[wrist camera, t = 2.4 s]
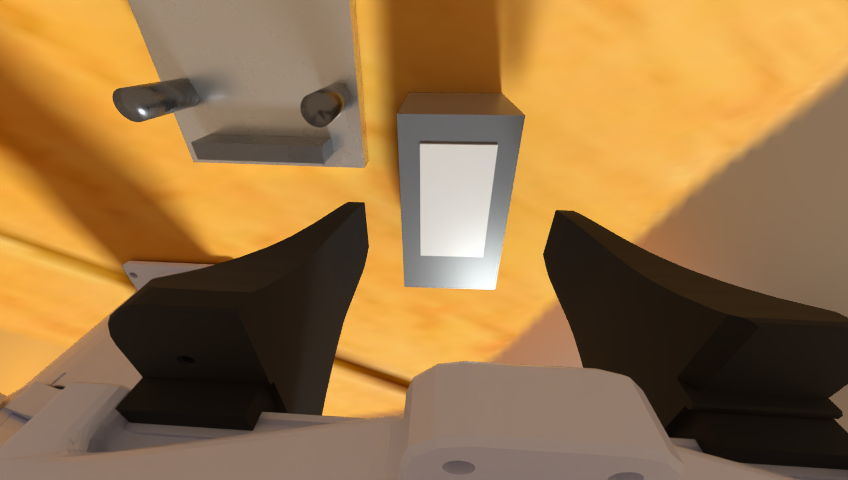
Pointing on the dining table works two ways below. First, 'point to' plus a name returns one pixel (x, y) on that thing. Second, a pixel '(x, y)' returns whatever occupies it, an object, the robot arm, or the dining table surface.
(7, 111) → the dining table surface
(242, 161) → the pin tray
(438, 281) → the block
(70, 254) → the dining table surface
